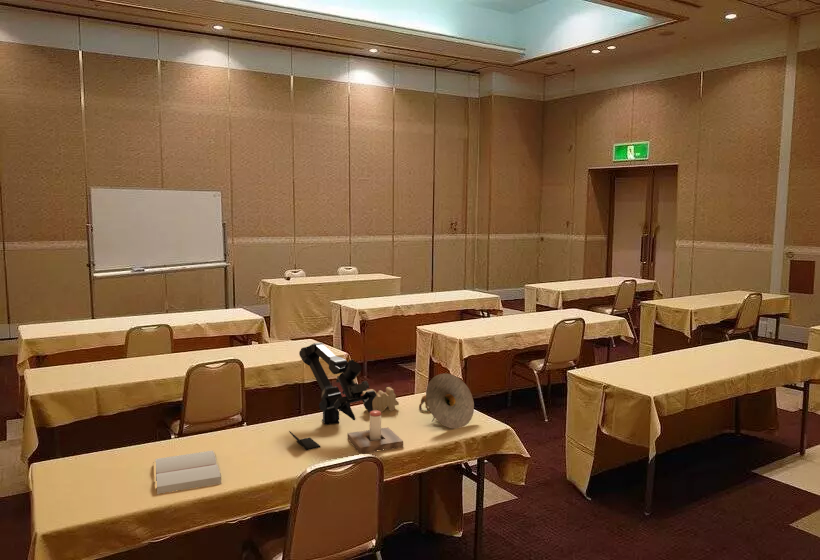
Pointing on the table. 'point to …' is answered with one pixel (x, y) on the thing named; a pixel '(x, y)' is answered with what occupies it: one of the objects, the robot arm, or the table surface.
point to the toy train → (383, 399)
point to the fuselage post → (375, 425)
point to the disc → (449, 401)
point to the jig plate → (365, 445)
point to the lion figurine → (423, 402)
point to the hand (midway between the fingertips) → (363, 417)
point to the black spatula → (306, 443)
